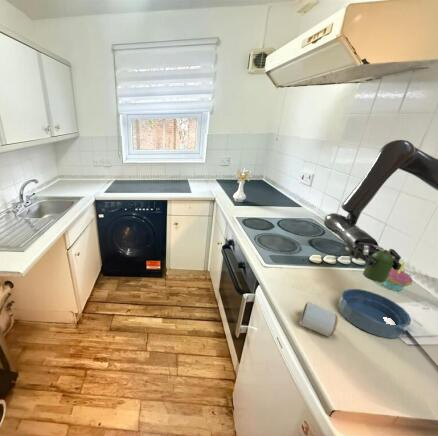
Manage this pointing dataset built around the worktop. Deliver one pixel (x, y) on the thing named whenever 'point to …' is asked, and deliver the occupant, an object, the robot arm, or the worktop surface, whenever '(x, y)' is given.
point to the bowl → (373, 313)
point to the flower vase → (241, 184)
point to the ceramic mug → (319, 319)
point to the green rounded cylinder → (379, 266)
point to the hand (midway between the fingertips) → (385, 265)
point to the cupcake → (397, 279)
